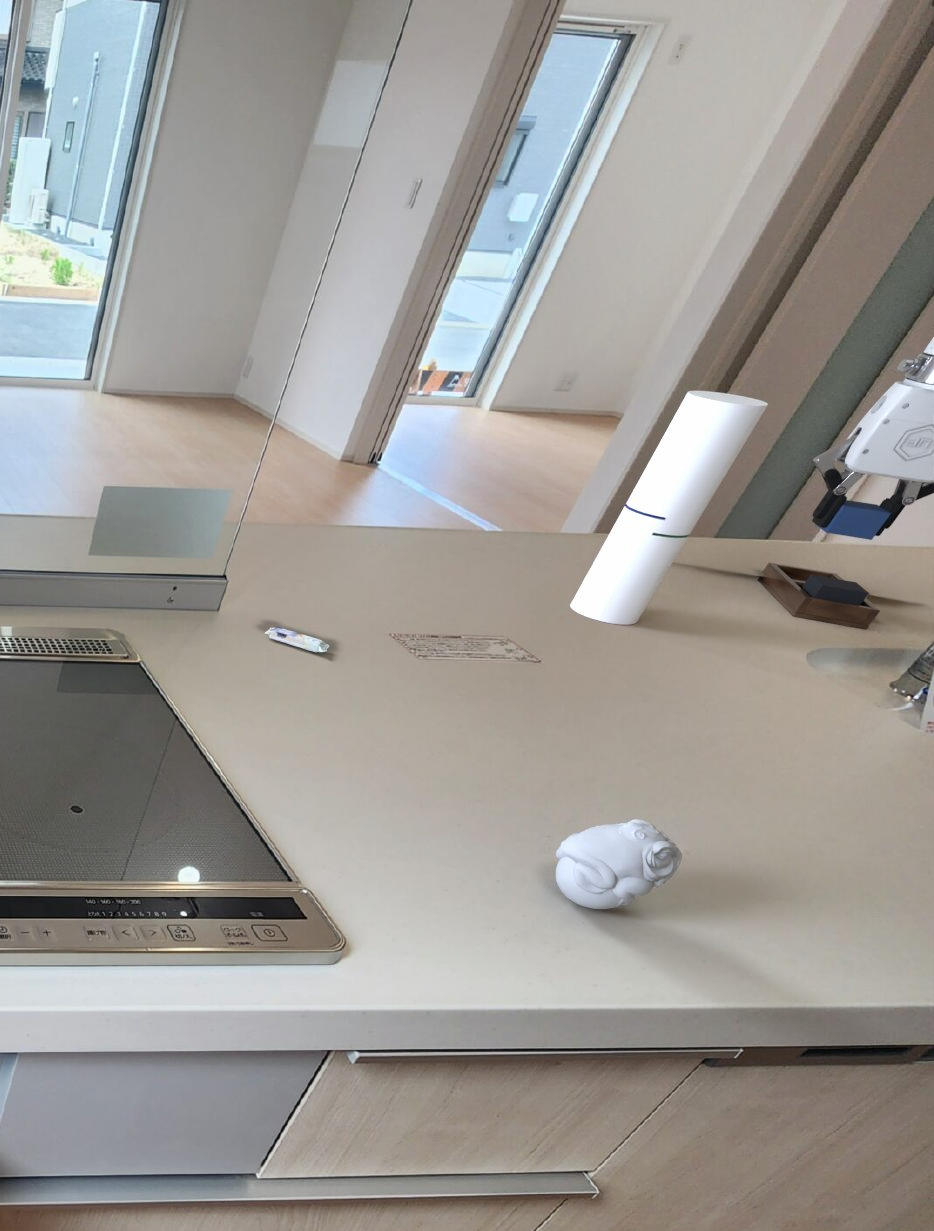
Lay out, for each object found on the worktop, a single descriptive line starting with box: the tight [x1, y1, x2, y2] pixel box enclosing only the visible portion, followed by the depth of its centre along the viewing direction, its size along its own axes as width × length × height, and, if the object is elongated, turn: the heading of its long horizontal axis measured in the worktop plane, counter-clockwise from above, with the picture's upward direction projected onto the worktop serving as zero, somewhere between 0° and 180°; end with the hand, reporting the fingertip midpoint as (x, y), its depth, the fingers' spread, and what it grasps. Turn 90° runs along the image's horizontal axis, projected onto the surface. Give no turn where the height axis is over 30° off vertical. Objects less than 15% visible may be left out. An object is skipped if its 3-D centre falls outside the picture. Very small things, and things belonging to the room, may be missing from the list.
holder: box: [757, 562, 881, 630], centre depth 125 cm, size 8×14×2 cm, turn 155°
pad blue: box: [816, 499, 891, 541], centre depth 122 cm, size 5×4×3 cm
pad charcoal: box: [801, 575, 870, 606], centre depth 122 cm, size 5×4×3 cm
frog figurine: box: [555, 818, 683, 910], centre depth 69 cm, size 6×7×7 cm
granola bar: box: [264, 626, 330, 653], centre depth 105 cm, size 7×2×1 cm, turn 49°
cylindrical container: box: [569, 390, 769, 626], centre depth 111 cm, size 7×7×25 cm
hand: (845, 527), depth 123 cm, fingers closed on pad blue, 4 cm apart
